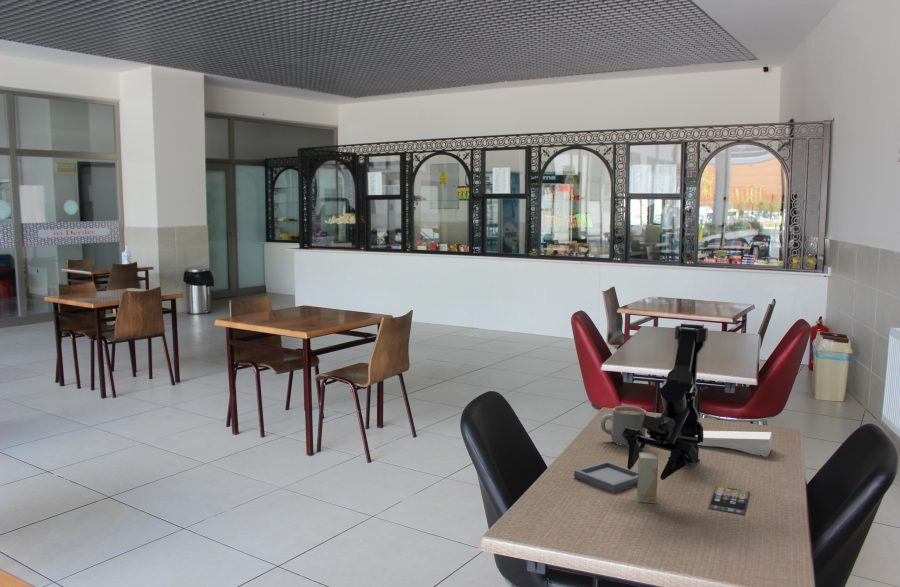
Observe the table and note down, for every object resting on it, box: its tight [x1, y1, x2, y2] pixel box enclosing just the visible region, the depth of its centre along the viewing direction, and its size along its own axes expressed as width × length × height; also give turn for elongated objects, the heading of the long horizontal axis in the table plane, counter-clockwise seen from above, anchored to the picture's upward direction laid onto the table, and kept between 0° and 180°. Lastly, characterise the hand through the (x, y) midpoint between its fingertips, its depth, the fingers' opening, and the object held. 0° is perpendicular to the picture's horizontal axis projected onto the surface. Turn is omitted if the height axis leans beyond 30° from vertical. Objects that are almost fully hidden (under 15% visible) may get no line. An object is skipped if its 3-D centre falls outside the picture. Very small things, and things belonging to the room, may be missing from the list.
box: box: [636, 451, 659, 504], centre depth 175 cm, size 5×4×11 cm
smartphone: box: [707, 485, 751, 516], centre depth 176 cm, size 8×15×1 cm, turn 153°
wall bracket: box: [696, 430, 773, 457], centre depth 220 cm, size 10×7×28 cm
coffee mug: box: [600, 405, 647, 447], centre depth 222 cm, size 13×10×10 cm
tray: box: [573, 460, 638, 494], centre depth 189 cm, size 13×13×2 cm
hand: (644, 473), depth 174 cm, fingers open, 9 cm apart
